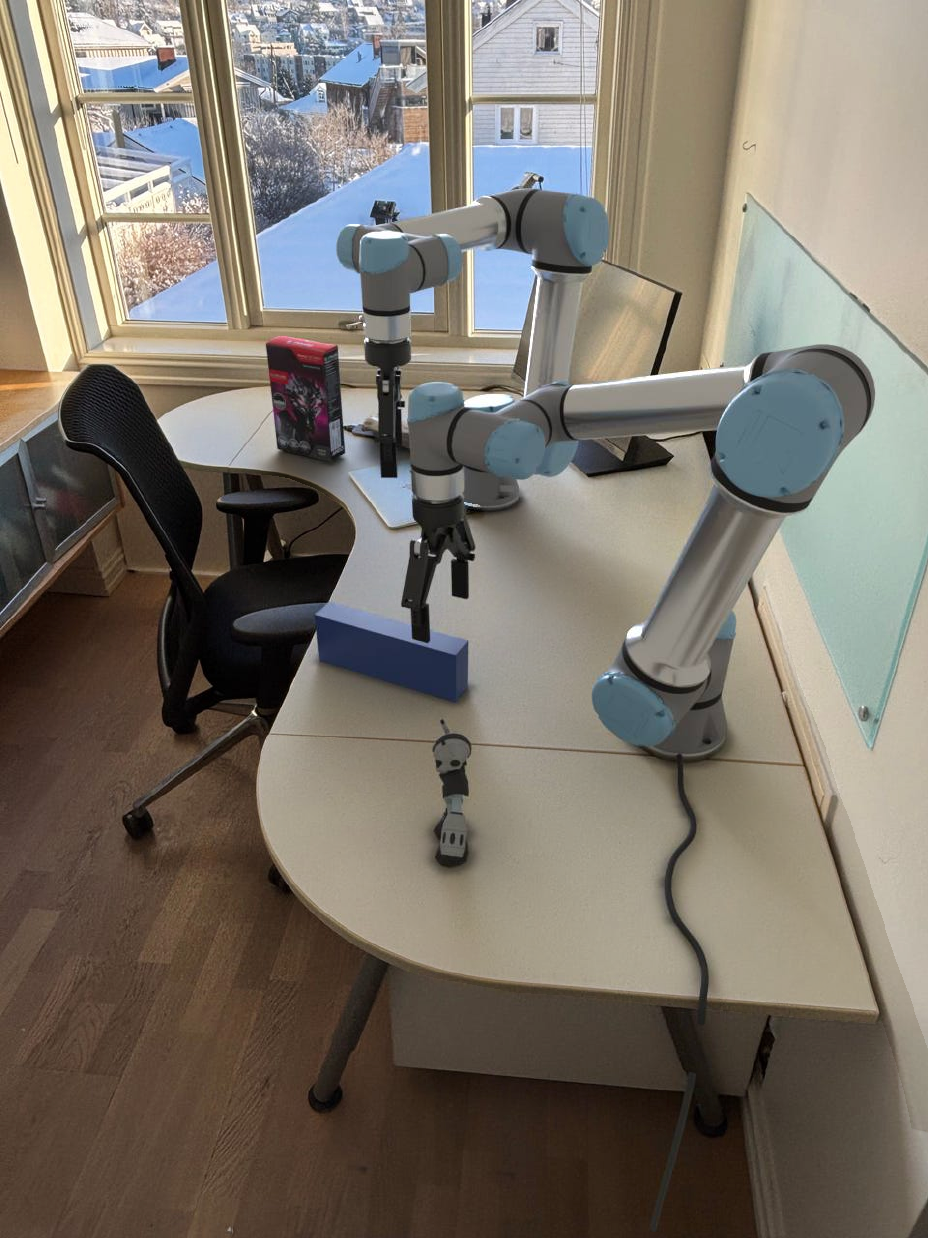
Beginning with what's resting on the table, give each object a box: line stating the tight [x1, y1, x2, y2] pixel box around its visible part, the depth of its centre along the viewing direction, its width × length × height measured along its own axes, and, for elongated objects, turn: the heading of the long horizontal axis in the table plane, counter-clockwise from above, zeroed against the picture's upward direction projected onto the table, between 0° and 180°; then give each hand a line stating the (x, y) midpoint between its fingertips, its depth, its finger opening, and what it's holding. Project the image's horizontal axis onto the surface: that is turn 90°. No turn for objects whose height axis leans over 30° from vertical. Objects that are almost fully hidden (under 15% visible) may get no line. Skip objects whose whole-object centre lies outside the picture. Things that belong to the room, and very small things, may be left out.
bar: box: [314, 601, 469, 703], centre depth 152 cm, size 26×4×9 cm, turn 65°
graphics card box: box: [265, 335, 346, 462], centre depth 222 cm, size 17×7×27 cm, turn 62°
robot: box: [431, 718, 473, 868], centre depth 118 cm, size 20×5×20 cm, turn 3°
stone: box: [360, 413, 410, 450], centre depth 233 cm, size 21×15×6 cm
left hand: (392, 460), depth 159 cm, fingers open, 13 cm apart
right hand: (441, 617), depth 143 cm, fingers open, 13 cm apart
